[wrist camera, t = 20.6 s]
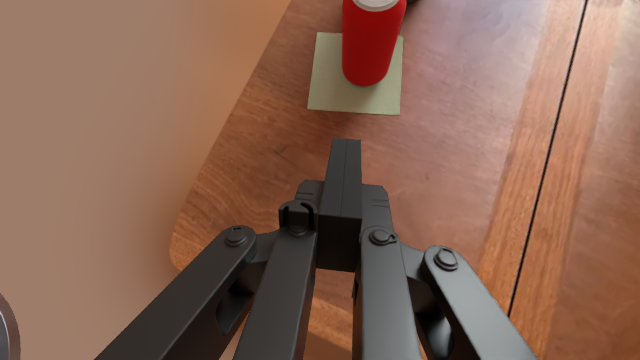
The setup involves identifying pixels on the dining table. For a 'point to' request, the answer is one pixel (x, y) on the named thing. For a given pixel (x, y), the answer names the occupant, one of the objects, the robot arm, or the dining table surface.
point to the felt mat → (344, 96)
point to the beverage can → (369, 38)
